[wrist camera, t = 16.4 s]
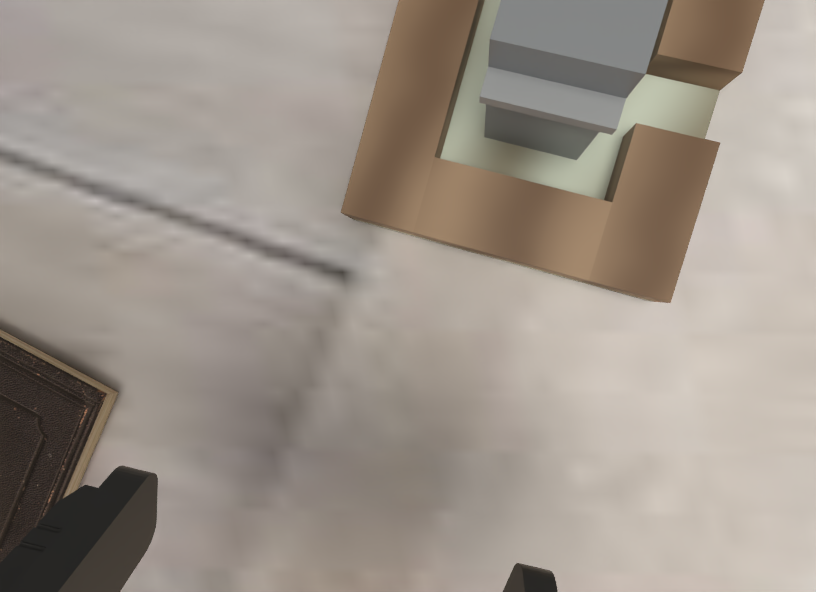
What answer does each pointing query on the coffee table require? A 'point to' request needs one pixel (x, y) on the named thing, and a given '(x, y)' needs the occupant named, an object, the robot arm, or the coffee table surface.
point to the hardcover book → (43, 434)
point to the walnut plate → (539, 171)
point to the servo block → (565, 69)
